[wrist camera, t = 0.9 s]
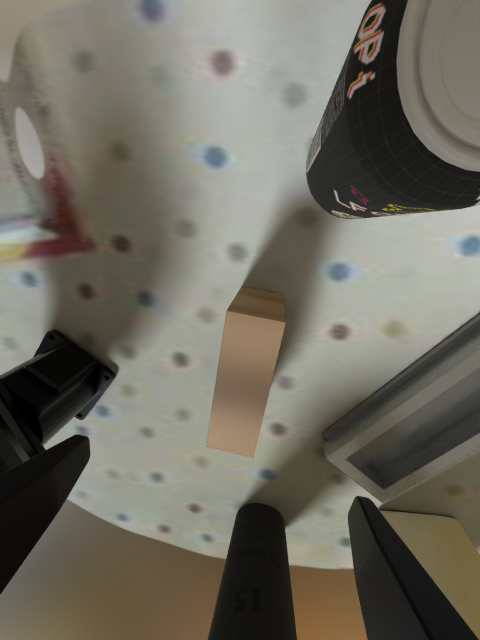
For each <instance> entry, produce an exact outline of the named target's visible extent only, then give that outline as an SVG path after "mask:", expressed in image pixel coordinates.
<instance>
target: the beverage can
mask: <svg viewBox="0 0 480 640" xmlns="http://www.w3.org/2000/svg"><path fill="white" fill-rule="evenodd" d="M306 176H307V183H308V186H309V189H310V192H311V194H312V196H313V198H314V199H315V201H316V202H317V203H318V205H319V206H320V207H321V208H322V209H324V210H325V211H327V212H328V213H330V214H331V215H334V216H337V217H339V218H345V219H361V218H371V217H381V216H392V215H402V214H412V213H423V212H433V211H443V210H454V209H462V208H467V207H471V206H475V205H480V0H372V1H371V3H370V4H369V6H368V8H367V10H366V12H365V14H364V16H363V19H362V21H361V23H360V26H359V28H358V31H357V33H356V36H355V38H354V41H353V43H352V46H351V48H350V50H349V53H348V55H347V58H346V60H345V63H344V65H343V68H342V70H341V73H340V75H339V78H338V80H337V82H336V85H335V87H334V90H333V92H332V95H331V97H330V100H329V102H328V105H327V107H326V110H325V112H324V114H323V117H322V119H321V122H320V124H319V127H318V129H317V132H316V134H315V137H314V139H313V142H312V144H311V147H310V149H309V153H308V157H307V162H306Z"/></svg>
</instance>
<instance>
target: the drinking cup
mask: <svg viewBox="0 0 480 640" xmlns="http://www.w3.org/2000/svg"><path fill="white" fill-rule="evenodd" d="M208 640H297V637H296V627H295V617H294V608H293V599H292V590H291V580H290V571H289V562H288V553H287V543H286V534H285V525H284V520H283V517H282V516H281V514H280V513H279V512H278V511H276V510H275V509H273V508H272V507H269V506H267V505H263V504H249V505H246V506H244V507H242V508H241V509H240V510H239V511H238V513H237V515H236V519H235V524H234V528H233V532H232V537H231V541H230V545H229V550H228V554H227V558H226V563H225V567H224V571H223V576H222V580H221V584H220V589H219V593H218V597H217V602H216V606H215V610H214V615H213V619H212V623H211V628H210V632H209V637H208Z"/></svg>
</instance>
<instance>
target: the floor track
mask: <svg viewBox="0 0 480 640" xmlns="http://www.w3.org/2000/svg"><path fill="white" fill-rule="evenodd" d="M322 436H323V437H324V438H325V439H326V440H327V441H326V442H324V443H323V448H324V453H325V458H326V459H327V460H328V461H329V462H331V463H332V464H333V465H335V466H336V467H337V468H338V469H340V470H341V471H342V472H343V473H345V474H346V475H347V476H349V477H350V478H351V479H352V480H354V481H355V482H356V483H357V484H359V485H360V486H361V487H363V488H364V489H365V490H366V491H368V492H369V493H370V494H371V495H373V496H374V497H375V498H377V499H378V500H379V501H380V502H382V503H383V502H385V501H387V500H388V499H390V498H392V497H394V496H395V495H397V494H399V493H401V492H402V491H404V490H406V489H408V488H409V487H411V486H413V485H415V484H416V483H418V482H420V481H422V480H423V479H425V478H427V477H429V476H430V475H432V474H434V473H435V472H437V471H439V470H441V469H442V468H444V467H446V466H448V465H449V464H451V463H453V462H455V461H456V460H458V459H460V458H462V457H463V456H465V455H467V454H469V453H470V452H472V451H474V450H475V449H477V448H479V447H480V314H479V315H477V316H476V317H475V318H473V319H472V320H471V321H469V322H468V323H467V324H465V325H464V326H463V327H461V328H460V329H459V330H457V331H456V332H455V333H454V334H452V335H451V336H450V337H448V338H447V339H446V340H444V341H443V342H442V343H440V344H439V345H438V346H436V347H435V348H434V349H432V350H431V351H430V352H428V353H427V354H426V355H424V356H423V357H422V358H421V359H419V360H418V361H417V362H415V363H414V364H413V365H411V366H410V367H409V368H407V369H406V370H405V371H403V372H402V373H401V374H399V375H398V376H397V377H395V378H394V379H393V380H391V381H390V382H389V383H388V384H386V385H385V386H384V387H382V388H381V389H380V390H378V391H377V392H376V393H374V394H373V395H372V396H370V397H369V398H368V399H366V400H365V401H364V402H362V403H361V404H360V405H359V406H357V407H356V408H355V409H353V410H352V411H351V412H349V413H348V414H347V415H345V416H344V417H343V418H341V419H340V420H339V421H337V422H336V423H335V424H333V425H332V426H331V427H329V428H328V429H327V430H326V431H324V432H323V433H322Z"/></svg>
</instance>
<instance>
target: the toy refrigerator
mask: <svg viewBox="0 0 480 640" xmlns="http://www.w3.org/2000/svg"><path fill="white" fill-rule="evenodd" d="M380 512H381V513H382V515H383V516H384V517H385V518H386V520H387V521H388V522H389V524H390V525H391V526H392V528H393V529H394V530H395V531H396V533H397V534H398V535H399V537H400V538H401V539H402V540H403V542H404V543H405V544H406V546H407V547H408V548H409V549H410V551H411V552H412V553H413V555H414V556H415V557H416V559H417V560H418V561H419V562H420V564H421V565H422V566H423V568H424V569H425V570H426V571H427V573H428V574H429V575H430V577H431V578H432V579H433V580H434V582H435V583H436V584H437V586H438V587H439V588H440V590H441V591H442V592H443V593H444V595H445V596H446V597H447V599H448V600H449V601H450V602H451V604H452V605H453V606H454V608H455V609H456V610H457V611H458V613H459V614H460V615H461V617H462V618H463V619H464V621H465V622H466V623H467V624H468V626H469V627H470V628H471V630H472V631H473V632H474V633H475V635H476V636H477V637H478V639H479V640H480V555H479V553H478V552H477V550H476V549H475V547H474V545H473V544H472V542H471V540H470V539H469V537H468V535H467V534H466V532H465V531H464V529H463V527H462V526H461V524H460V523H459V521H458V520H456V519H455V518H450V517H445V516H437V515H426V514H416V513H406V512H395V511H380Z"/></svg>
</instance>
